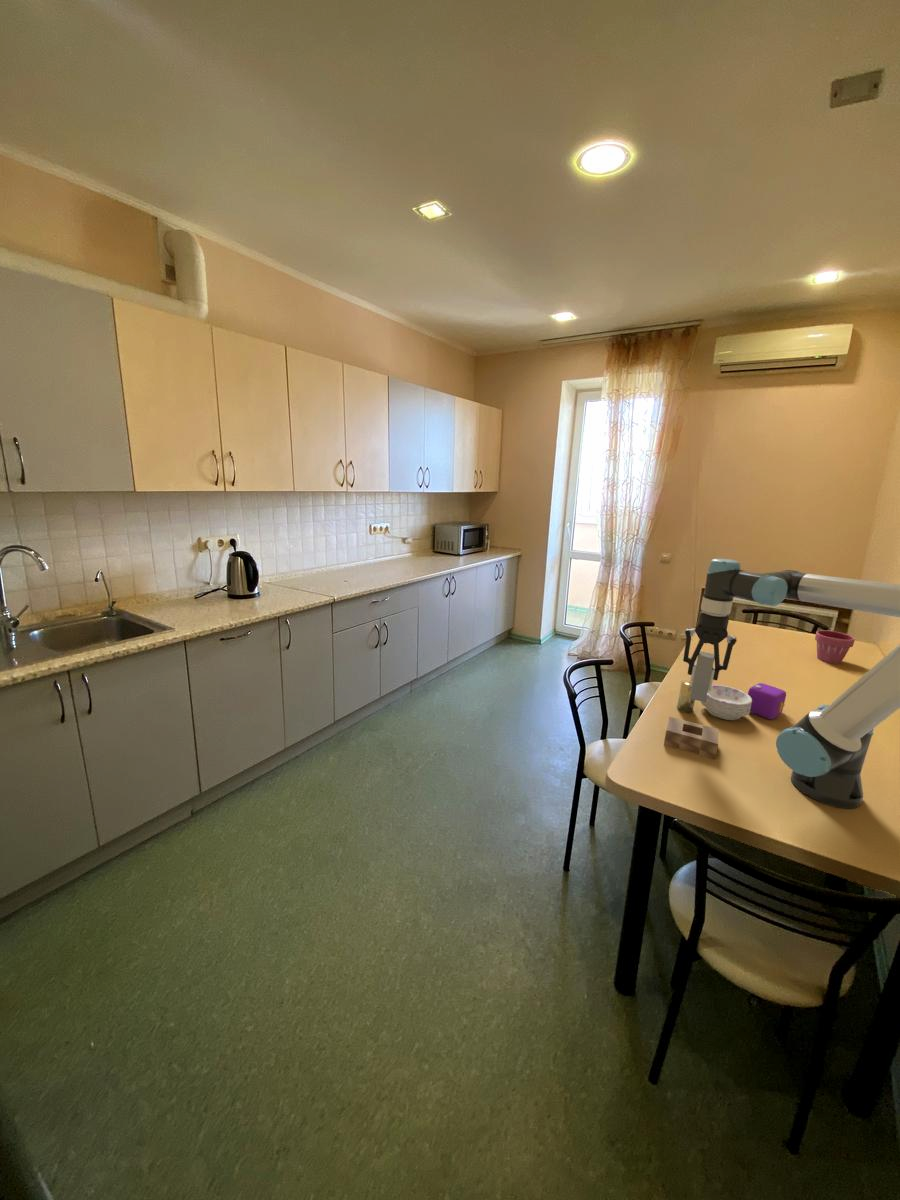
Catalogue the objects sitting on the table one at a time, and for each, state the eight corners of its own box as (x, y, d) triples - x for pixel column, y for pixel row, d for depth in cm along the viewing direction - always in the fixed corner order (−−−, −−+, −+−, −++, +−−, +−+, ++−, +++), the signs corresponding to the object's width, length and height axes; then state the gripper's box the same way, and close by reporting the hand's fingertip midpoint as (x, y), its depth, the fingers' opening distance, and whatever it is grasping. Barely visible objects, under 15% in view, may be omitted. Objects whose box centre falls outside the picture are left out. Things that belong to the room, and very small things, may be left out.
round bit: (693, 708, 169) (698, 682, 167) (692, 714, 165) (697, 688, 162) (677, 704, 172) (682, 679, 169) (676, 710, 167) (680, 684, 165)
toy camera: (785, 710, 171) (791, 685, 168) (778, 723, 161) (784, 697, 158) (751, 700, 178) (756, 676, 175) (742, 712, 168) (748, 686, 166)
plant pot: (817, 663, 219) (824, 637, 215) (805, 653, 232) (811, 628, 229) (854, 667, 215) (861, 641, 212) (839, 657, 228) (846, 632, 225)
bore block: (715, 743, 147) (718, 729, 146) (715, 759, 138) (718, 744, 137) (667, 730, 153) (669, 716, 152) (663, 744, 145) (666, 730, 144)
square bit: (705, 697, 143) (714, 654, 139) (705, 702, 139) (714, 658, 136) (690, 693, 145) (698, 651, 141) (689, 698, 141) (698, 655, 138)
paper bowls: (702, 719, 162) (706, 698, 160) (696, 700, 176) (700, 681, 174) (752, 728, 157) (757, 707, 155) (742, 708, 171) (747, 688, 169)
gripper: (749, 615, 134) (732, 689, 140) (682, 604, 142) (670, 675, 148) (750, 621, 128) (733, 699, 134) (680, 610, 136) (667, 684, 142)
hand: (700, 686), depth 141 cm, fingers closed on square bit, 4 cm apart
